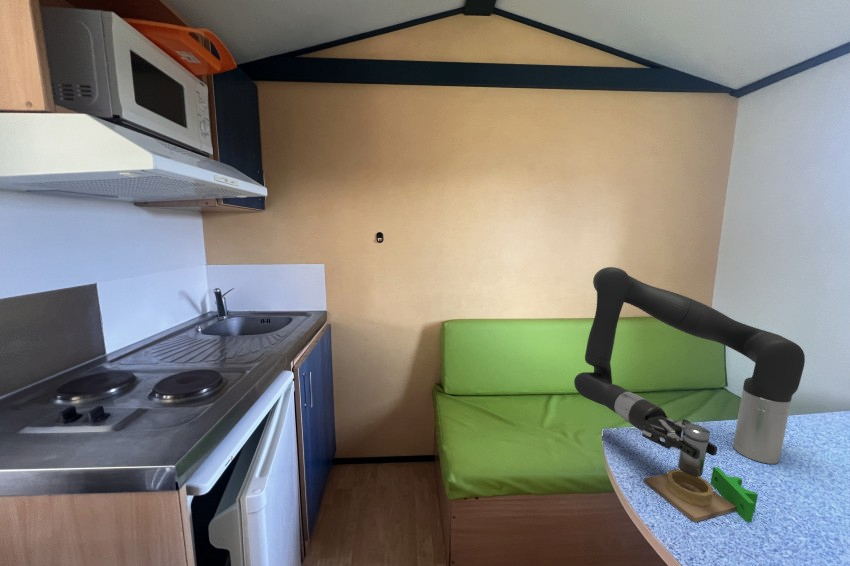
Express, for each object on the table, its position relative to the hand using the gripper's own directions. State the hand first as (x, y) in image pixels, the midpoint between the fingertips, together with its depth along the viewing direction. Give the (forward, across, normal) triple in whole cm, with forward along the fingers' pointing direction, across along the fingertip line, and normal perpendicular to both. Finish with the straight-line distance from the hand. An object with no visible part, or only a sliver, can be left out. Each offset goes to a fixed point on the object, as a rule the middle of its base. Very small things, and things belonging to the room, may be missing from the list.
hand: (706, 453), depth 75 cm
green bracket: (+2, +9, +13) cm, 16 cm away
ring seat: (-2, 0, +12) cm, 13 cm away
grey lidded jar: (-3, 0, +6) cm, 7 cm away
